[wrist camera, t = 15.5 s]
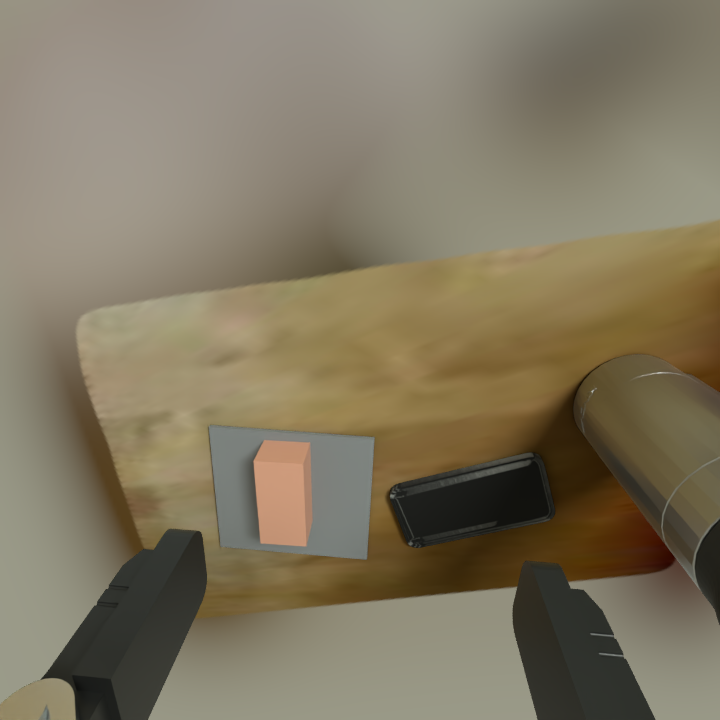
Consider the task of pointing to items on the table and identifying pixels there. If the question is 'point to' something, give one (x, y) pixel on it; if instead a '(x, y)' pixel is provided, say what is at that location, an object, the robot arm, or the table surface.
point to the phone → (474, 500)
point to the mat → (328, 480)
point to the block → (284, 492)
